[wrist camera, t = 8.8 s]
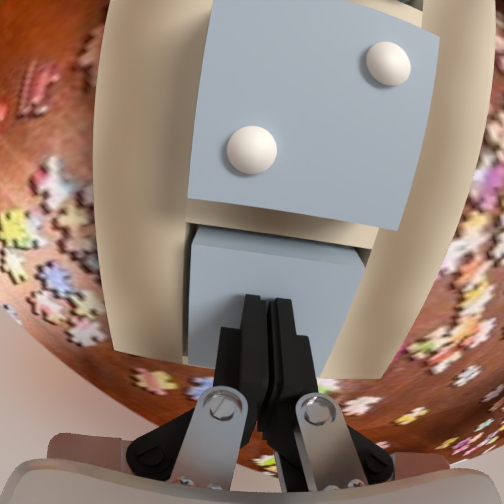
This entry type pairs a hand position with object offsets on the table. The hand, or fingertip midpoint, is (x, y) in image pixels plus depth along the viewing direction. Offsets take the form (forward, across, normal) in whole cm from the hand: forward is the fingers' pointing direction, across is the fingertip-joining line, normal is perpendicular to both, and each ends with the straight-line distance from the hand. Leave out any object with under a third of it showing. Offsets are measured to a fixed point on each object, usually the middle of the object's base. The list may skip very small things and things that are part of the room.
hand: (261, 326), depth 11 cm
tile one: (+3, 0, 0) cm, 3 cm away
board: (+4, 0, -8) cm, 9 cm away
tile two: (+2, 0, -8) cm, 8 cm away
